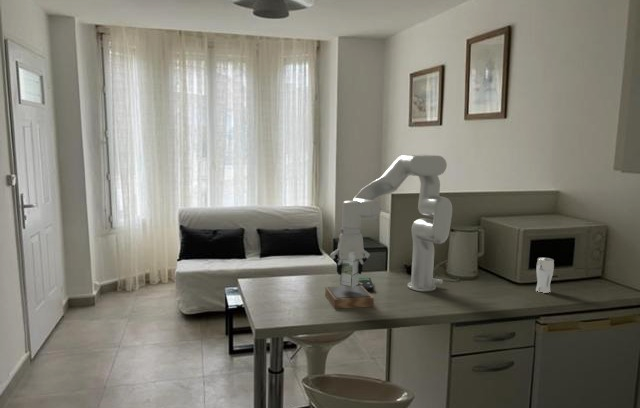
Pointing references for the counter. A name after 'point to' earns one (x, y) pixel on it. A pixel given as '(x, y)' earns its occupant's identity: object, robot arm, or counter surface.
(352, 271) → the syrup box
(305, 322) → the counter surface
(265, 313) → the counter surface
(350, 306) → the stand
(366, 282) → the disk drive
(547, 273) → the beer glass
